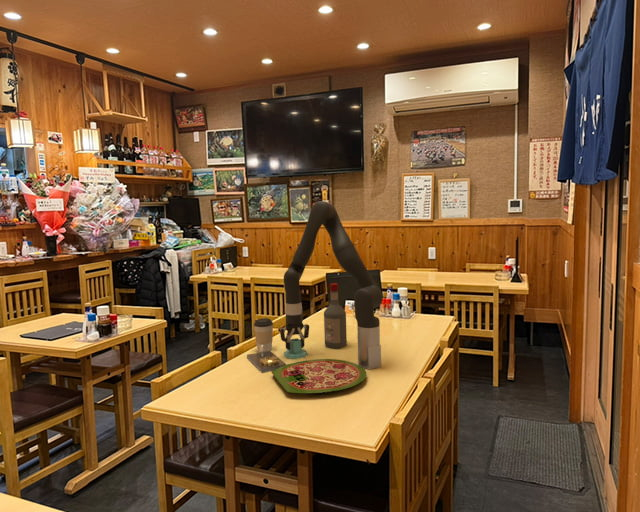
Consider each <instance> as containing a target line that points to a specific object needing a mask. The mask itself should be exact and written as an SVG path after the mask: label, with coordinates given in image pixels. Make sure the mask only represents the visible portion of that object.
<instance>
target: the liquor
mask: <svg viewBox="0 0 640 512" xmlns="http://www.w3.org/2000/svg"><path fill="white" fill-rule="evenodd" d="M329 290H330V303H329V305H328V306H327V307H326V308H325V310H324V311H323V322H324V323H323V327H324V328H323V330H324V331H323V334H324V345H325V347H326V348H327V349H334V350H340V349H342V348H344V347H347V345H348V343H347V342H348V341H347V338H348V337H347V335H348V334H347V312H346V310H345V309H344V308H343V307H342V306H341V305H340V302H339V284H338V283H336V282H335V283H333V282H332V283H330V284H329Z"/></svg>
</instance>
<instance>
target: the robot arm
mask: <svg viewBox="0 0 640 512" xmlns="http://www.w3.org/2000/svg"><path fill="white" fill-rule="evenodd" d="M322 226H323V227H324V228H325V230H326V232H327V233H328V236H329V237H330V243H331V248H332V252H333V254H334V257H335V258H336V261H337V262H338V264H339V265H340V267H341V268H342V269H343V270H344V271H345V272H346V273H347V274H348V275H350V276H351V277H352V278H353V279H354V280H355V282H356V283H357V285H358V286H359V289H357V290H356V291H355V293H354V299H353V305H354V306H353V307H354V317H355V320H356V325H357V364H358V365H359V366H361V367H363V368H364V369H367V370H373V369H378V368H382V345H381V339H380V338H381V337H380V336H381V335H380V333H381V332H380V331H381V329H380V325H381V324H380V323H381V321H380V318H379V317H377V316H375V313H374V309H376V308H378V307H380V306H381V305H382V304H383V300H384V297H383V296H384V295H383V294H382V291H381V289H380V287H379V286H378V284H377V283H376V282H375V280H374V279H373V277H372V275H371V273H370V272H369V271H368V269H367V267H366V265H365V263H364V262H363V260H362V258H361V256H360V254H359V252H358V249H356V247H355V244H354V243H353V241H352V239H351V238H350V236H349V235H348V232H347V230H346V229H345V228H344V226H343V224H342V221H341V219H340V216H339V214H338V211H337V209H336V208H335V206H334V205H333V204H331V203H329V202H327V201H323V200H319V201H316V202H315V203H314V204H313V205H312V207H311V209H310V212H309V216H308V219H307V222H306V226H305V228H304V231H303V234H302V237H301V239H300V242H299V244H298V245H297V248H296V249H295V252H294V254H293V256H292V260H291V262H290V265H289V266H288V269H287V270H286V271H285V272H284V275H283V285H284V293H285V306H284V307H285V311H284V312H285V326H284V327H279V336H280V340H281V341H282V342H284V343H285V349H286V350H290V342H289V341H290V339H292V337H293V336H296V335H298V336H299V339H300V340H301V344H302V349H305V348H304V347H305V339H308V338H309V335H310V334H309V333H310V325H309V324H308V323H305V324H303V321H304V320H303V319H304V318H303V306H302V305H303V304H302V292H301V290H300V280H301V278H302V276H303V275H304V274H303V273H304V271H305V270H306V269H305V268H306V266H307V265H308V263H309V262H310V259H311V257H312V255H313V253H314V250H315V246H316V239H317V235H318V233H319V230H320V228H321V227H322ZM302 330H304V331H302ZM286 331H287V333H286V334H285V332H286ZM285 335H286V336H285Z"/></svg>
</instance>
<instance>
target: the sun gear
mask: <svg viewBox="0 0 640 512" xmlns="http://www.w3.org/2000/svg"><path fill="white" fill-rule="evenodd" d="M279 359H280V357H278V358H276V357H275V356H273V357H265V358H261V359H260V365H264V366H274V365H276V364H279V362H280V361H279Z"/></svg>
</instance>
